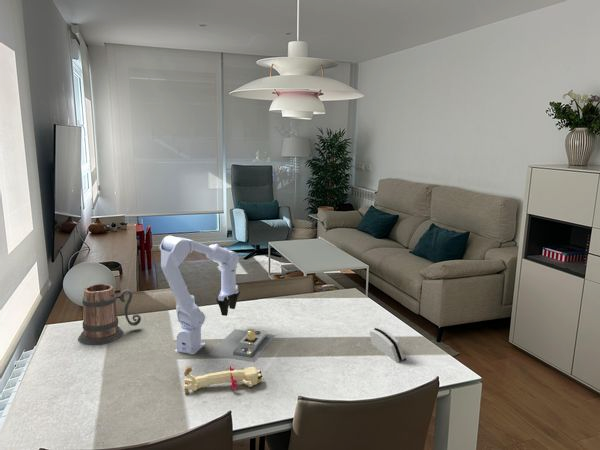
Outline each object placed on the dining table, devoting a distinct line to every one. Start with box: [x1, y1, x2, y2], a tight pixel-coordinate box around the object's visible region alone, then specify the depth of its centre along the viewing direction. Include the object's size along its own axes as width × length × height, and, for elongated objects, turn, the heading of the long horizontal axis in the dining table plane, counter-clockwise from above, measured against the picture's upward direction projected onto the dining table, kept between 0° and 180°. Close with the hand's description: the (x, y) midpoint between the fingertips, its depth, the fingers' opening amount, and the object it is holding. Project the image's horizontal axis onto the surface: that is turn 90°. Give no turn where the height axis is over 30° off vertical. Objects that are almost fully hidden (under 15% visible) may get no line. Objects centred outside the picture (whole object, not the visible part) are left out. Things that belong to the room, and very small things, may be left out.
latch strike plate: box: [233, 329, 269, 357], centre depth 172 cm, size 18×7×3 cm, turn 165°
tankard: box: [77, 283, 142, 347], centre depth 178 cm, size 24×17×20 cm
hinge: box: [369, 326, 408, 363], centre depth 171 cm, size 17×5×10 cm, turn 24°
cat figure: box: [183, 365, 265, 394], centre depth 144 cm, size 10×9×25 cm
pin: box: [246, 328, 256, 343], centre depth 172 cm, size 3×3×6 cm
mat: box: [207, 328, 276, 363], centre depth 173 cm, size 24×18×1 cm
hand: (228, 311), depth 182 cm, fingers open, 7 cm apart
